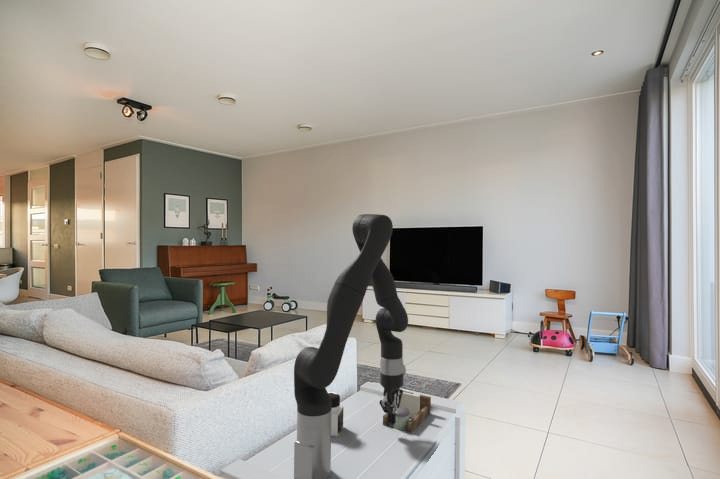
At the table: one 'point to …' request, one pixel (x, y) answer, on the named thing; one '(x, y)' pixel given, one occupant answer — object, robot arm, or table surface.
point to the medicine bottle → (336, 414)
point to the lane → (419, 417)
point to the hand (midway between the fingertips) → (391, 423)
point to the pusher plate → (410, 403)
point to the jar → (401, 418)
